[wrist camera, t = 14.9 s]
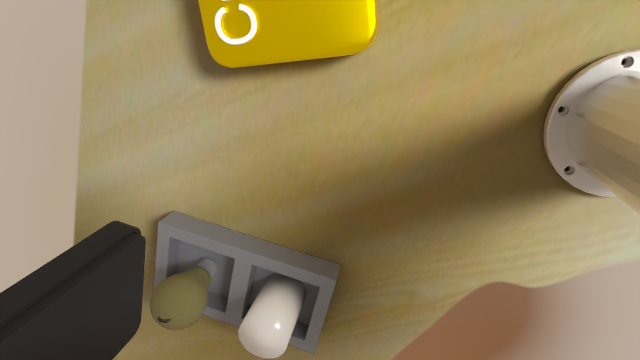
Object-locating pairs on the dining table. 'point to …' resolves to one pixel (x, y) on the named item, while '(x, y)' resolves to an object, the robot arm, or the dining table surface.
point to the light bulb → (183, 296)
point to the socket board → (244, 272)
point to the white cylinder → (272, 316)
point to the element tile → (286, 29)
